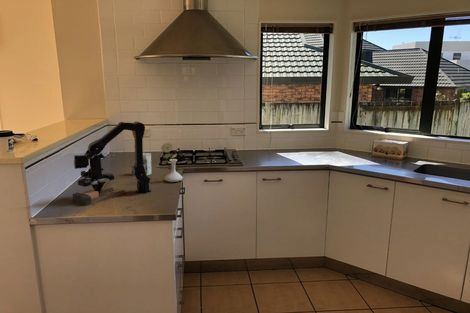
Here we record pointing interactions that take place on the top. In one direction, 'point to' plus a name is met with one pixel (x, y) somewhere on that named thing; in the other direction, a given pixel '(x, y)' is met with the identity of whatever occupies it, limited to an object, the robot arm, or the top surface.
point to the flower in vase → (173, 175)
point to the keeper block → (91, 193)
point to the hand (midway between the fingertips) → (97, 195)
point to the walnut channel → (87, 199)
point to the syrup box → (147, 163)
